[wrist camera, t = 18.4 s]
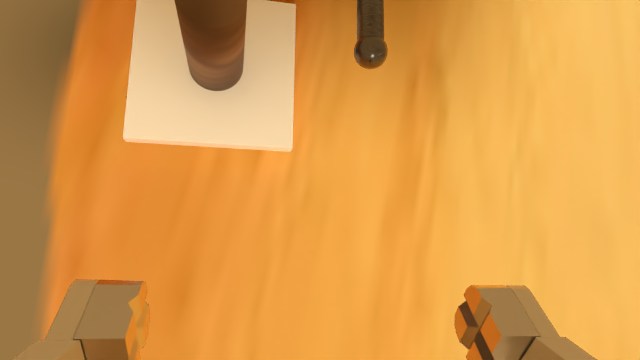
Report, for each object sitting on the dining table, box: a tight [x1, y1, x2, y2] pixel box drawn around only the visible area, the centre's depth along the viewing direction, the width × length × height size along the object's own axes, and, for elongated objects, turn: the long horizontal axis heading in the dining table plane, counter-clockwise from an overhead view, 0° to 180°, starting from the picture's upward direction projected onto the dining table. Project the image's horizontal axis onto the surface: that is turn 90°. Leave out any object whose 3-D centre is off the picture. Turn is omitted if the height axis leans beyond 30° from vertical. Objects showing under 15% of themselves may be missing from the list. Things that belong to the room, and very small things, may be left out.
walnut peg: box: [174, 0, 247, 91], centre depth 29 cm, size 4×4×9 cm
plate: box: [123, 0, 296, 152], centre depth 34 cm, size 12×12×1 cm
